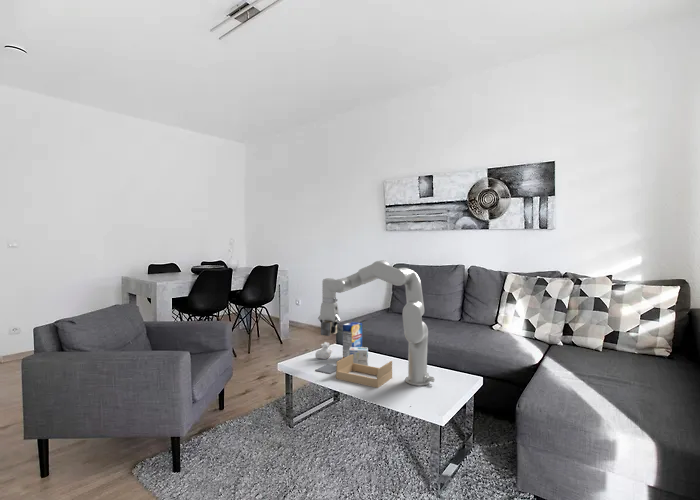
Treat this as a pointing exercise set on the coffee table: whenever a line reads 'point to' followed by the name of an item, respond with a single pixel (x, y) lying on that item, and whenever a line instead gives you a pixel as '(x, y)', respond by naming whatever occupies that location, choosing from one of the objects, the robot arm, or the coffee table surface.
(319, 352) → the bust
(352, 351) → the light bulb box
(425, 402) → the coffee table surface
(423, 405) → the coffee table surface
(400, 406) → the coffee table surface
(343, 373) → the carton
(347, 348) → the blue yellow food box
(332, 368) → the grey mat
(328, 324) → the block
